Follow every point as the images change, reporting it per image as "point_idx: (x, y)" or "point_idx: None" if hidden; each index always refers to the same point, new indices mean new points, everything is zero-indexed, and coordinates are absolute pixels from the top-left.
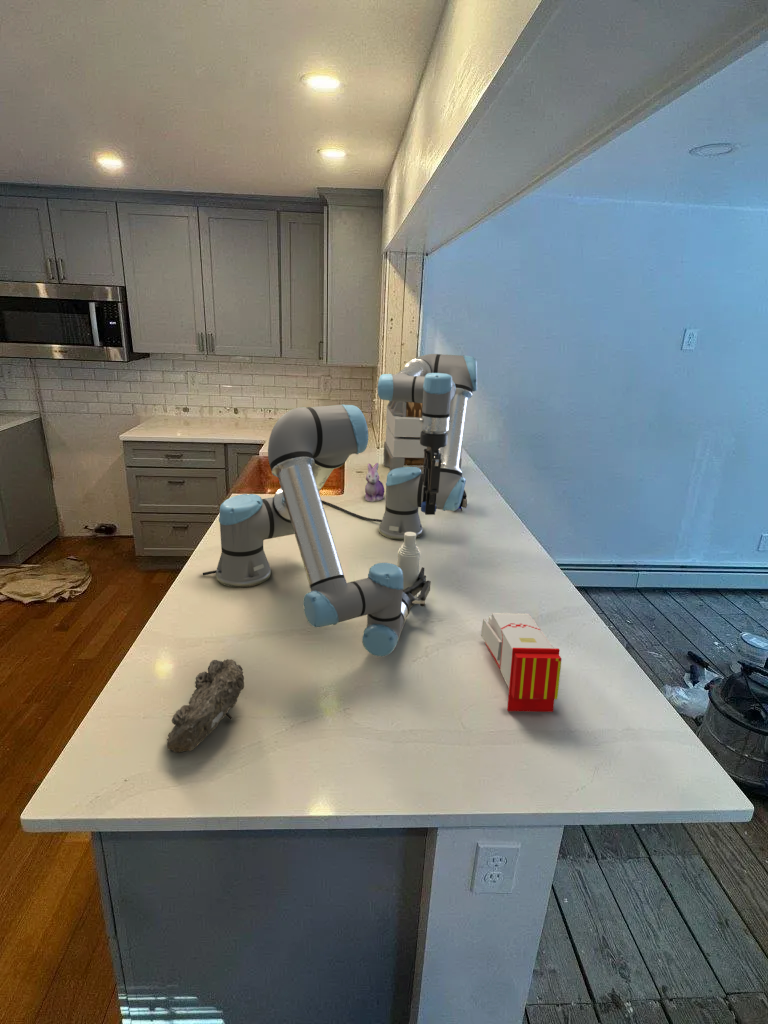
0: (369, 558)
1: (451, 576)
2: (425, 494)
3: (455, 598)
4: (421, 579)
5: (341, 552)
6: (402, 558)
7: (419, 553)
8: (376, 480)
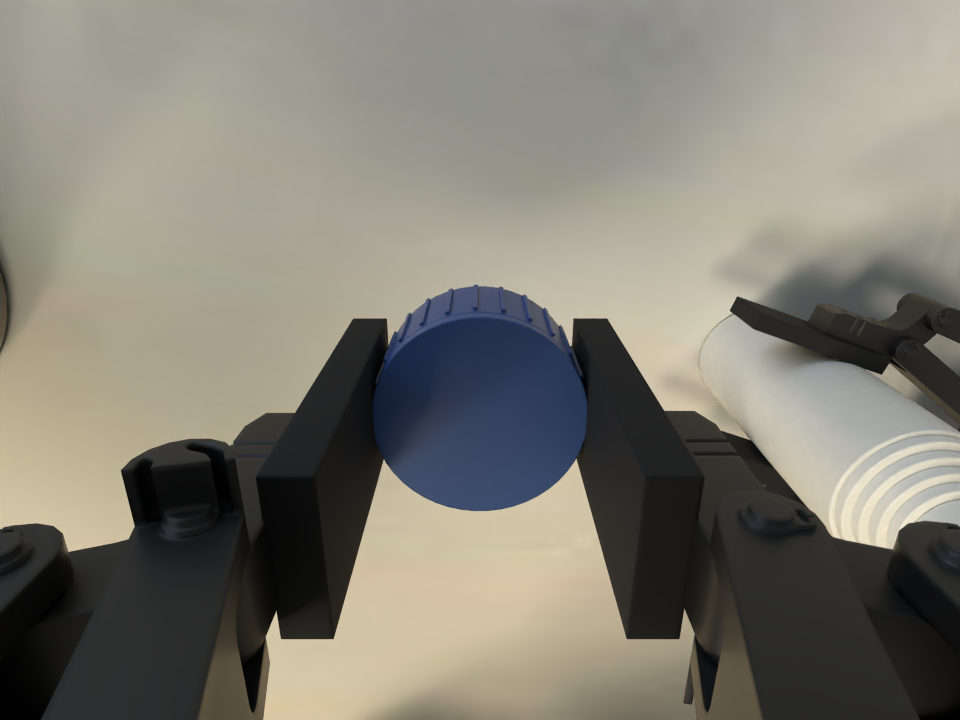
0: None
1: (509, 55)
2: (358, 517)
3: (779, 97)
4: (912, 357)
5: None
6: None
7: (957, 438)
8: None
